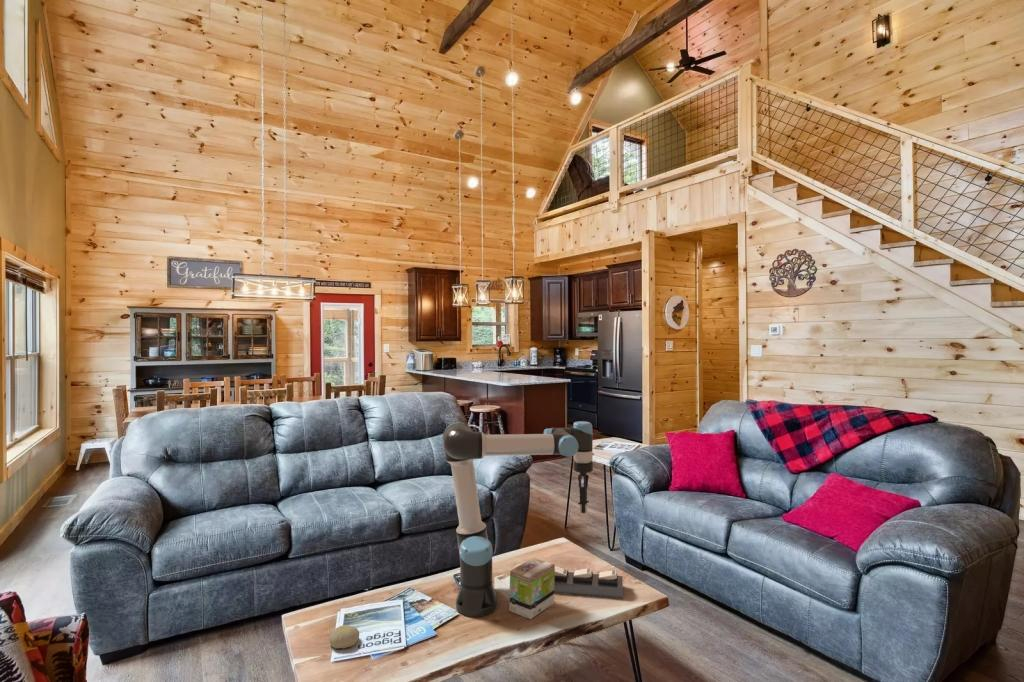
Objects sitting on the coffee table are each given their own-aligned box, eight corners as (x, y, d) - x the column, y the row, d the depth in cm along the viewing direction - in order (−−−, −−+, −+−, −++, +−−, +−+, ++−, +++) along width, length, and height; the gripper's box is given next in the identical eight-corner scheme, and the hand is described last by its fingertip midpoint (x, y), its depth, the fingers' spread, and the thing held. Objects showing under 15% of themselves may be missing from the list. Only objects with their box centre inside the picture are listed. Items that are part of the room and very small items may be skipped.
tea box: (531, 620, 187) (531, 578, 187) (508, 611, 193) (508, 570, 193) (555, 603, 199) (555, 563, 199) (533, 595, 205) (532, 556, 205)
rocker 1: (549, 573, 210) (550, 569, 209) (550, 568, 214) (551, 564, 214) (565, 579, 208) (566, 574, 208) (566, 573, 213) (567, 569, 213)
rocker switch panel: (542, 592, 207) (542, 577, 207) (546, 580, 217) (546, 566, 217) (622, 598, 202) (622, 583, 201) (622, 586, 211) (622, 572, 211)
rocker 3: (599, 581, 206) (598, 577, 206) (600, 576, 210) (599, 572, 210) (616, 578, 205) (615, 574, 205) (616, 573, 209) (615, 569, 209)
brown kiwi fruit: (346, 625, 182) (356, 614, 178) (356, 647, 178) (366, 636, 174) (321, 637, 174) (331, 625, 171) (331, 661, 171) (342, 649, 167)
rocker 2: (574, 579, 208) (573, 575, 208) (575, 574, 212) (574, 570, 212) (591, 576, 206) (590, 572, 206) (591, 571, 211) (590, 567, 211)
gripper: (591, 465, 208) (592, 526, 209) (593, 457, 221) (593, 515, 222) (572, 464, 210) (572, 525, 210) (575, 456, 223) (575, 514, 223)
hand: (583, 520), depth 216 cm, fingers closed
